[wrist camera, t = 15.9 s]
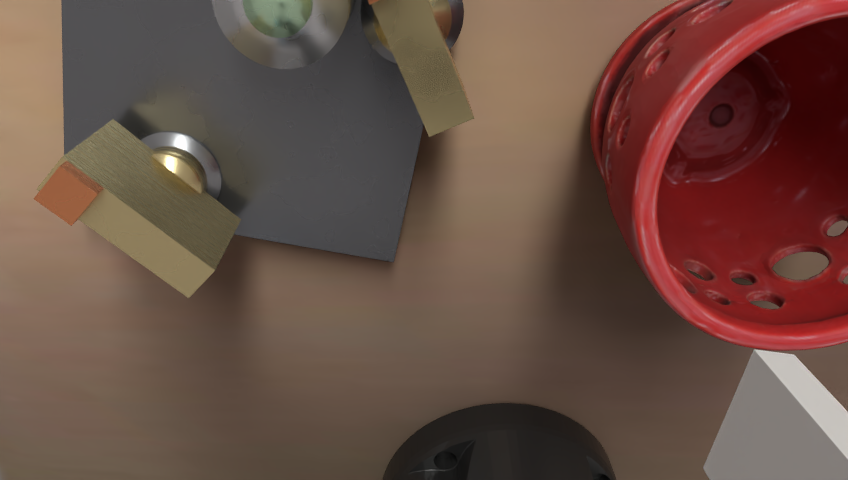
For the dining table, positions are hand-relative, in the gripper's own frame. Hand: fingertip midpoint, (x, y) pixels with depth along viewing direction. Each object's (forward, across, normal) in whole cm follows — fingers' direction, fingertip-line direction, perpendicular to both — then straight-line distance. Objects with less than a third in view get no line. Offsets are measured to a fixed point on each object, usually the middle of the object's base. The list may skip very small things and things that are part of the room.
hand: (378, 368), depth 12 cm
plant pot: (+23, -15, -2) cm, 27 cm away
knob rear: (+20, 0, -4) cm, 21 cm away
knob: (+21, +10, +5) cm, 23 cm away
